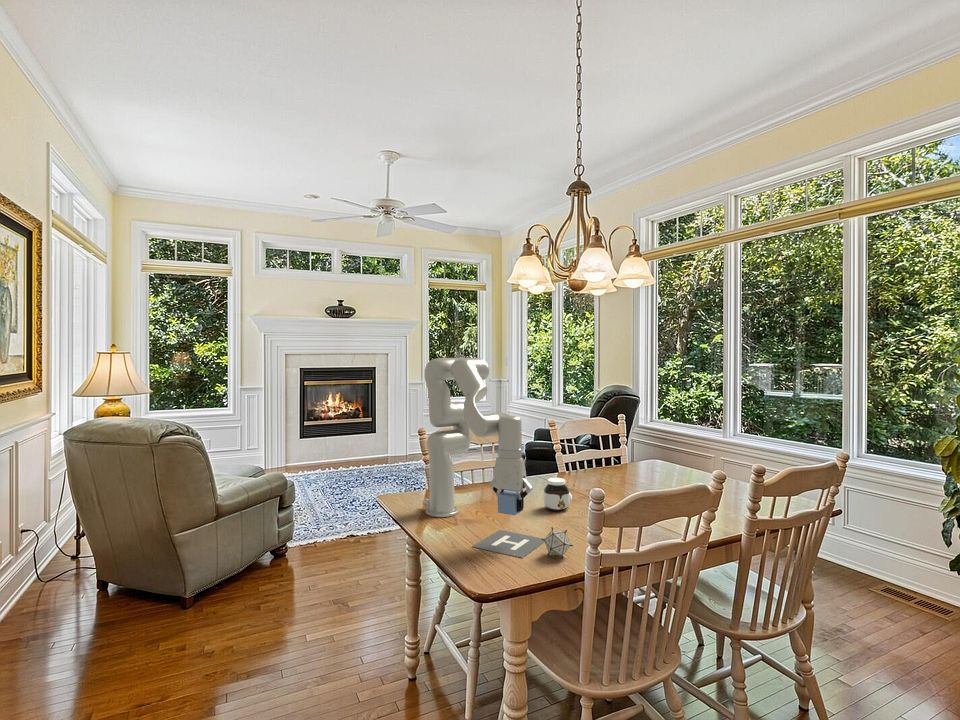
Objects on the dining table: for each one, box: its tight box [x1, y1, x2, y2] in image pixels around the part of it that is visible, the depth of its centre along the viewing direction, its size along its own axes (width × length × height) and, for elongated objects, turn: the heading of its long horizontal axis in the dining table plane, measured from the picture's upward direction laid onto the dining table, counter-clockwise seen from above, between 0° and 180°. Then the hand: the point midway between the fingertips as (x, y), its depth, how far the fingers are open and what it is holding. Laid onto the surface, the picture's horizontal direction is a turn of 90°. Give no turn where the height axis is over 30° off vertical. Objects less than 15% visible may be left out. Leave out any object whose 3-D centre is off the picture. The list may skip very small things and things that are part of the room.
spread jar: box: [543, 477, 573, 513], centre depth 210 cm, size 12×11×12 cm
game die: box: [541, 526, 574, 559], centre depth 161 cm, size 9×8×10 cm
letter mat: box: [472, 529, 545, 559], centre depth 172 cm, size 18×18×1 cm
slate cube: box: [497, 490, 524, 516], centre depth 172 cm, size 6×6×6 cm
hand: (510, 508), depth 172 cm, fingers closed on slate cube, 6 cm apart
